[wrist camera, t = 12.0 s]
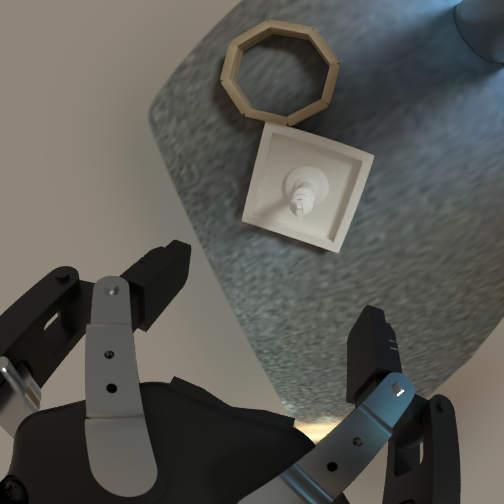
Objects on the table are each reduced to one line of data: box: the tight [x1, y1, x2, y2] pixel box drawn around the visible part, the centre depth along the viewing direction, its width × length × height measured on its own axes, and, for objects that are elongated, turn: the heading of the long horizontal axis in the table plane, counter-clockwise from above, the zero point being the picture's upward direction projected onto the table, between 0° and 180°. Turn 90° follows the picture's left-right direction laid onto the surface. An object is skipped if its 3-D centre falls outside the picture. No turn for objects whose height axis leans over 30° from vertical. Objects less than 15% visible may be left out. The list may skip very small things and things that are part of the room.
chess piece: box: [285, 165, 329, 220], centre depth 25 cm, size 5×5×10 cm
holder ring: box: [220, 20, 340, 127], centre depth 24 cm, size 12×12×2 cm
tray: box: [242, 121, 374, 253], centre depth 30 cm, size 12×12×2 cm
